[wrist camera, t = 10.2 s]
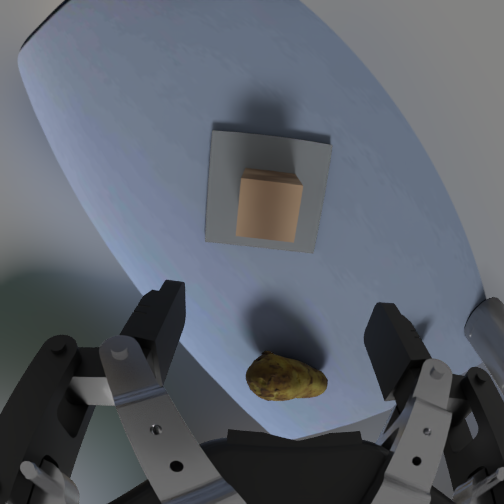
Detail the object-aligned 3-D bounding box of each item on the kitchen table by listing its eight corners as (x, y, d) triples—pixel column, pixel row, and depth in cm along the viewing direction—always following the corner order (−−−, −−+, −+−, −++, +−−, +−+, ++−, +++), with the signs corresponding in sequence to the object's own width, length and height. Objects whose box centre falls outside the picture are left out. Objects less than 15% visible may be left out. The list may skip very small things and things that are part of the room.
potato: (284, 391, 43) (286, 431, 36) (238, 346, 39) (233, 390, 31) (329, 372, 41) (338, 412, 33) (289, 321, 36) (294, 366, 29)
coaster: (330, 144, 27) (332, 145, 26) (312, 250, 32) (313, 253, 31) (213, 130, 27) (212, 130, 26) (206, 238, 32) (205, 241, 31)
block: (295, 173, 28) (303, 185, 22) (288, 220, 30) (293, 242, 24) (245, 167, 28) (241, 178, 22) (240, 214, 30) (235, 236, 24)
